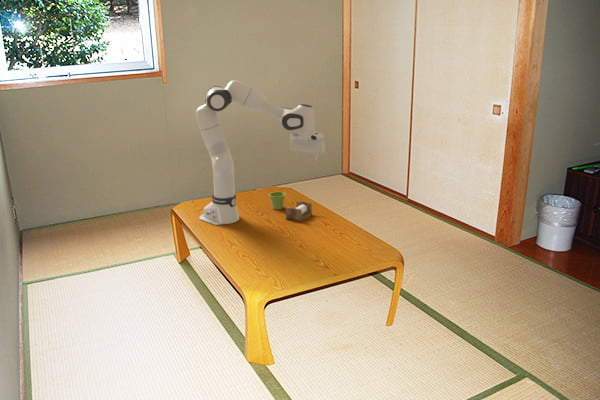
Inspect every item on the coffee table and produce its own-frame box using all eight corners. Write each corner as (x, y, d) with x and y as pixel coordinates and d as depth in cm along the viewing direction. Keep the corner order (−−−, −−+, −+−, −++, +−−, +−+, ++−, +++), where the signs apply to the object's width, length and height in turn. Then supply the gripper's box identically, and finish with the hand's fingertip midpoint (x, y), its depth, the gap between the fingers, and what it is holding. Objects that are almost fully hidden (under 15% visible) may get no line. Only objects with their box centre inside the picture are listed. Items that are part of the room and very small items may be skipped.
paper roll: (298, 219, 288) (301, 211, 286) (291, 215, 290) (293, 207, 288) (306, 214, 295) (308, 206, 293) (298, 210, 297) (300, 202, 294)
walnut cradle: (286, 219, 290) (285, 207, 287) (297, 212, 300) (297, 200, 298) (300, 222, 285) (300, 210, 283) (311, 214, 296) (311, 202, 294)
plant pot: (267, 207, 309) (266, 193, 306) (282, 204, 313) (281, 190, 310) (273, 212, 301) (272, 197, 298) (288, 209, 305) (288, 195, 302)
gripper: (287, 134, 285) (287, 159, 290) (320, 137, 275) (321, 163, 280) (292, 132, 290) (293, 156, 295) (326, 135, 281) (326, 160, 285)
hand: (307, 159), depth 287 cm, fingers open, 8 cm apart
